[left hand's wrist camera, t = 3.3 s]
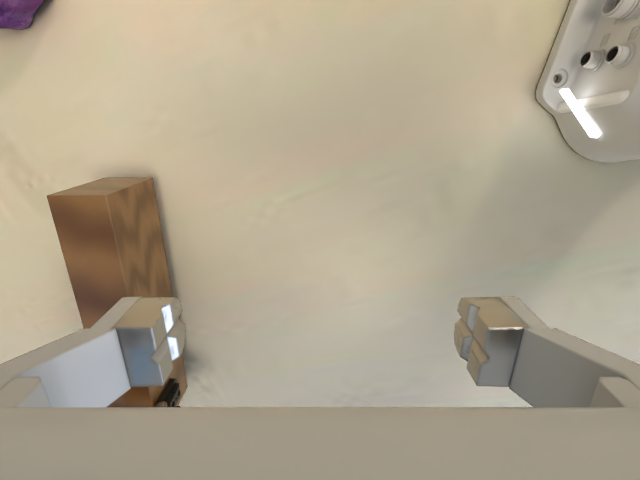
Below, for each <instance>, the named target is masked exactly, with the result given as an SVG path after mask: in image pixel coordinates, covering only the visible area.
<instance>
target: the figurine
mask: <svg viewBox="0 0 640 480" xmlns="http://www.w3.org/2000/svg"><path fill="white" fill-rule="evenodd" d="M43 1H44V0H0V28H7V29H19V30H22V29H25V28H28V27H29V25H30V24H31V22H32V20H33V15H34V14H35V12H36V10H37V9H38V7H39V6H40V5H41V4H42V3H43Z"/></svg>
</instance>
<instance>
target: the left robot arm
mask: <svg viewBox="0 0 640 480" xmlns="http://www.w3.org/2000/svg"><path fill="white" fill-rule="evenodd" d="M555 75H557V76H558V79H557V81H556V83H555V82H554V81H553V78H554V76H555ZM536 98H537V100H538V102H539V103H540V104H541V105H542V106H543V107H544V108H545V109H546V110H547V111H548V112H550V113H551V114H552V115H553V116H554V117H555V119H556V121H557V123H558V126H559V128H560V131H561V133H562V135H563V137H564V139H565V141H566V142H567V143H568V145H569V146H570V147H571V148H572V149H573V150H574V151H575V152H577V153H578V154H580V155H581V156H583V157H585V158H587V159H590V160H593V161H597V162H604V163H614V162H622V161H627V160H635V159H640V0H571V1H570V4H569V6H568V9H567V11H566V14H565V17H564V19H563V22H562V24H561V27H560V29H559V32H558V35H557V37H556V40H555V42H554V45H553V48H552V50H551V53H550V55H549V58H548V61H547V63H546V66H545V68H544V71H543V73H542V76H541V79H540V81H539V84H538V86H537V89H536ZM181 313H182V306H181V301H180V300H179V299H178V298H176V297H123V298H121V299H120V300H119V301H118V302H117V303H116V304H115V305H114V306H113V307H112V308H111V309H110V310H109V311H108V312H107V313H106V314H105V315H103V316H102V317H101V318H100V319H99V320H98V321H97V322H96V323H95V324H94V325H93V326H92V327H91V328H90V329H82V330H80V331H77V332H75V333H73V334H70V335H68V336H66V337H63V338H61V339H59V340H56V341H54V342H51V343H49V344H47V345H44V346H42V347H40V348H37V349H35V350H33V351H30V352H28V353H26V354H23V355H21V356H19V357H16V358H14V359H12V360H9V361H7V362H5V363H2V364H0V480H640V364H637V363H635V362H633V361H630V360H628V359H626V358H623V357H621V356H619V355H616V354H614V353H612V352H609V351H607V350H605V349H602V348H600V347H598V346H595V345H593V344H591V343H588V342H586V341H584V340H581V339H579V338H577V337H574V336H572V335H570V334H567V333H565V332H563V331H560V330H558V329H550V328H549V327H548V326H547V325H546V324H545V323H544V322H543V321H542V320H541V319H540V318H539V317H538V316H537V315H536V314H534V313H533V312H532V311H531V310H530V309H529V308H528V307H527V306H526V305H525V304H524V303H523V302H522V301H521V300H520V299H519V298H517V297H514V296H513V297H478V298H461V300H460V302H459V305H458V313H459V314H460V316H461V317H462V318H461V319H460V320H459V321H458V322H457V323H456V324H455V330H454V340H455V346H456V349H457V351H458V353H459V355H460V357H462V358H463V359H465V360H466V361H468V363H467V370H468V371H469V373H470V375H471V377H472V378H473V380H474V382H475V384H476V385H477V386H498V387H509V389H511V390H512V391H513V392H515V393H516V394H517V395H519V396H520V397H521V398H522V399H524V400H525V401H526V402H528V403H529V404H530V405H532V406H533V407H107V406H109V405H110V404H111V403H112V402H114V401H115V400H116V399H118V398H119V397H120V396H122V395H123V394H124V393H125V392H127V391H128V390H129V389H131V387H142V386H163V385H164V384H165V382H166V380H167V378H168V377H169V375H170V373H171V371H172V369H173V363H172V361H174V360H175V359H177V358H178V357H180V355H181V353H182V351H183V349H184V345H185V341H186V329H185V324H184V323H183V322H182V321H181V320H180V319H179V318H178V317H179V316H180V314H181Z"/></svg>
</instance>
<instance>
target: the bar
mask: <svg viewBox="0 0 640 480" xmlns="http://www.w3.org/2000/svg"><path fill="white" fill-rule="evenodd" d="M47 199H48V202H49V206H50V209H51V213H52V216H53V220H54V224H55V227H56V231H57V234H58V238H59V241H60V245H61V248H62V252H63V256H64V259H65V263H66V266H67V270H68V273H69V277H70V281H71V284H72V288H73V291H74V295H75V298H76V302H77V305H78V309H79V313H80V316H81V320H82V323H83V327H84V329H90V328H91V327H92V326H93V325H94V324H95V323H96V322H97V321H98V320H99V319H100V318H101V317H102V316H103V315H105V314H106V313H107V312H108V311H109V310H110V309H111V308H112V307H113V306H114V305H115V304H116V303H117V302H118V301H119V300H120V299H121V298H123V297H172V291H171V285H170V279H169V273H168V267H167V261H166V255H165V249H164V243H163V237H162V232H161V226H160V220H159V214H158V208H157V202H156V196H155V190H154V184H153V178H103V179H100V180H96V181H93V182H90V183H87V184H83V185H80V186H77V187H73V188H70V189H67V190H64V191H60V192H57V193H54V194H50V195H47ZM172 363H173V369H172V371H171V373H170V375H169V377H168V378H167V380H166V382H165V384H164V385H163V386H142V387H131V389H129V390H128V391H127V392H125V393H124V394H123V395H122V396H120V397H119V398H118V399H116V400H115V401H114V402H112V403H111V404H110V405H109V406H107V407H154V406H155V405H156V404H157V400H158V398H159V396H160V395H161V393H162V391H163V390H164V388H165V386H166V384H167V383H168V381H169V379H170V378H176V379H177V383H179V385H180V391H181V396H180V398H179V400H178V402H177V404H176V406H178V405H179V403H180V401H181V398H182V396H183V394H184V392H185V390H186V388H187V386H188V385H187V379H186V373H185V368H184V362H183V356H182V353H181V355H180V357H178V358H177V359H175V360H174V361H172Z"/></svg>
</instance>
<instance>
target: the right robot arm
mask: <svg viewBox="0 0 640 480" xmlns="http://www.w3.org/2000/svg"><path fill="white" fill-rule="evenodd" d="M180 396H181V391H180V385H179V383H177V379H176V378H170V379H169V381H168V383H167V384H166V386H165V388H164V390H163V391H162V393H161V395H160V396H159V398H158V400H157V404H156V405H155V406H154V407H180V406H176V404H177V402H178V400H179V398H180Z"/></svg>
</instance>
